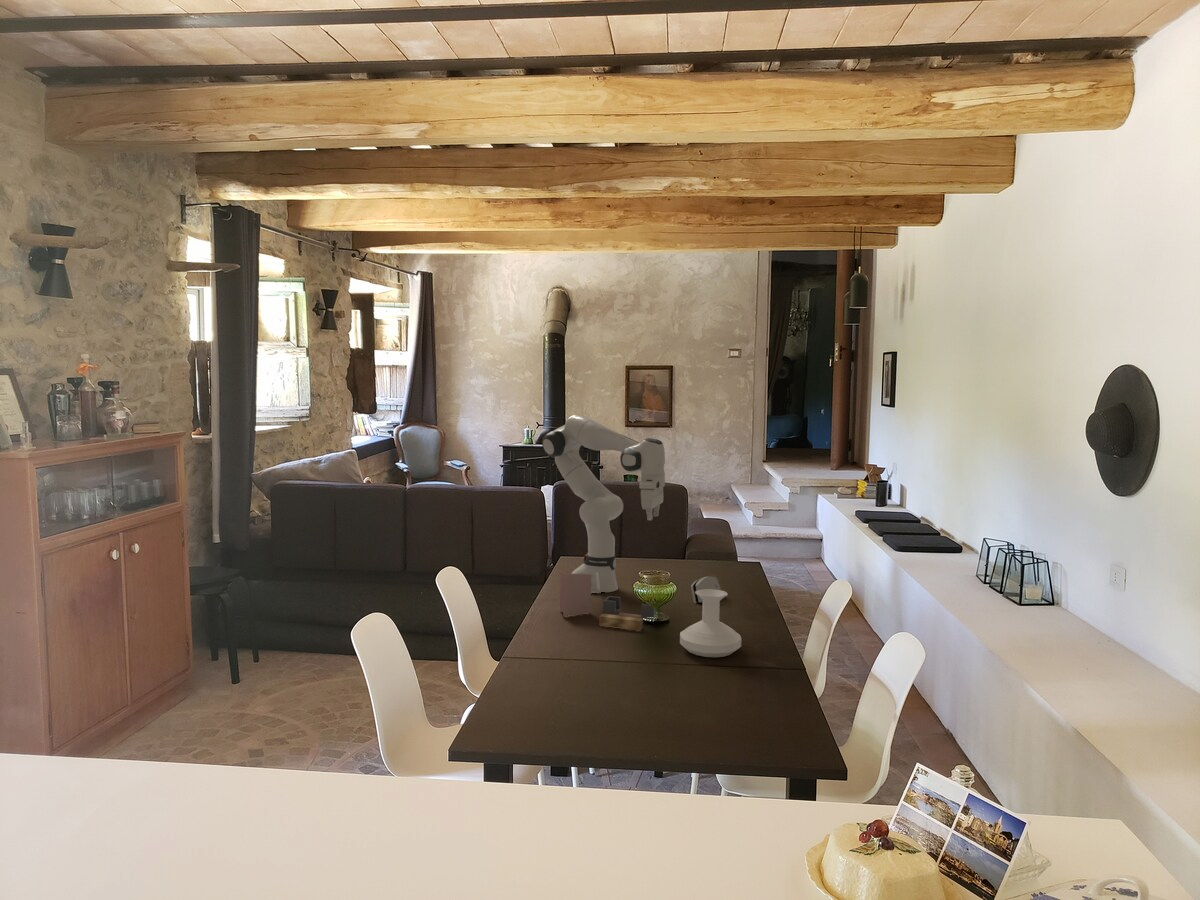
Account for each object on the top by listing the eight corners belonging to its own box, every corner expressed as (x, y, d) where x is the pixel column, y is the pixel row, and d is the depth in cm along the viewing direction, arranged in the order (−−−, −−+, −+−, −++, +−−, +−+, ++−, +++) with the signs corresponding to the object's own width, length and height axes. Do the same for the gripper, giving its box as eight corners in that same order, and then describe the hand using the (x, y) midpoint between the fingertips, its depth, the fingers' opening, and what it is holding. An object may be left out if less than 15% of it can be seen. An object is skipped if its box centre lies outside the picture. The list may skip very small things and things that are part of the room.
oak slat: (599, 627, 291) (599, 616, 291) (602, 624, 294) (602, 613, 294) (639, 632, 286) (639, 621, 286) (642, 629, 289) (642, 618, 289)
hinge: (704, 605, 320) (697, 580, 321) (694, 607, 323) (687, 582, 324) (725, 596, 333) (719, 572, 334) (716, 598, 336) (709, 574, 337)
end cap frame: (602, 617, 301) (603, 600, 301) (608, 613, 308) (608, 596, 307) (653, 623, 295) (653, 605, 295) (658, 618, 302) (658, 601, 301)
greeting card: (590, 613, 307) (591, 573, 306) (588, 618, 300) (588, 578, 299) (560, 611, 308) (560, 572, 307) (557, 617, 301) (557, 577, 300)
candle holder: (735, 665, 253) (737, 604, 252) (672, 657, 260) (673, 597, 258) (745, 645, 272) (747, 588, 270) (686, 638, 279) (687, 583, 277)
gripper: (651, 478, 320) (651, 513, 321) (638, 484, 300) (638, 522, 302) (667, 479, 318) (667, 514, 319) (654, 485, 299) (654, 522, 300)
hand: (652, 518), depth 310 cm, fingers open, 8 cm apart
